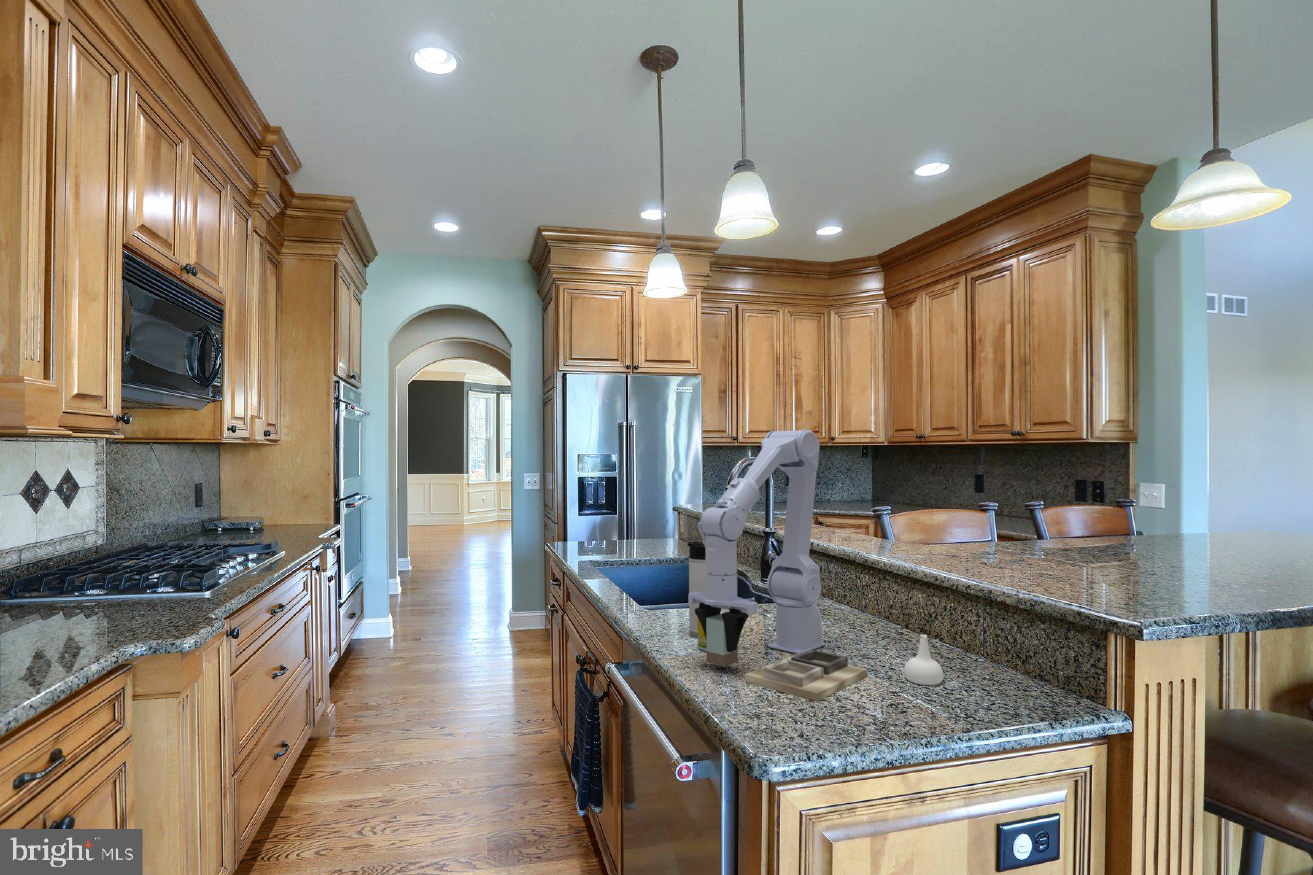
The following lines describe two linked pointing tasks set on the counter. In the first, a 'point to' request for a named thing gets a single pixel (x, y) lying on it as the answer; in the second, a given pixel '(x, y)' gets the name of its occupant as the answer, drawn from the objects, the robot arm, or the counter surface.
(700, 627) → the supplement bottle
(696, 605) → the travel mug
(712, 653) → the banded peg
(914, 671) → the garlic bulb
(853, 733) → the counter surface
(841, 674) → the board
